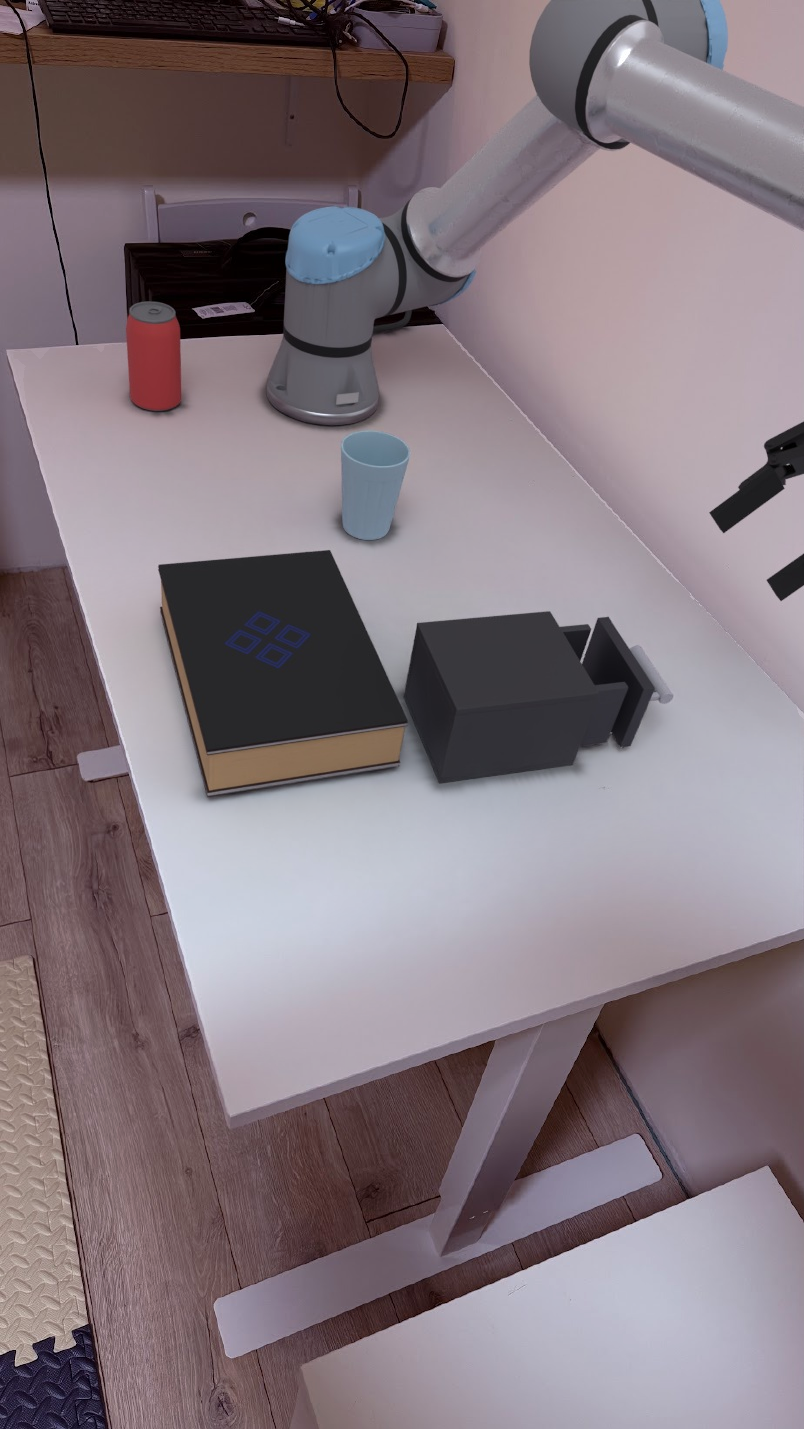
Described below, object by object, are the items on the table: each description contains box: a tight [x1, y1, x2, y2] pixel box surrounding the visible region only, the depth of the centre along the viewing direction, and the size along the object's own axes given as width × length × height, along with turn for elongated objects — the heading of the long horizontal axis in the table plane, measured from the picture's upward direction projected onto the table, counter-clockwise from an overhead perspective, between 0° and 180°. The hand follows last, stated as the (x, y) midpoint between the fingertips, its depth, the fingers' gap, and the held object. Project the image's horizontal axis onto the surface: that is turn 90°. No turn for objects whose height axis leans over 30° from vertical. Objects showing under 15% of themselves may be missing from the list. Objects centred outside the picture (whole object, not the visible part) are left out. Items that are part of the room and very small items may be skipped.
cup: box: [340, 429, 411, 541], centre depth 115 cm, size 8×8×10 cm
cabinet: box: [403, 610, 599, 784], centre depth 94 cm, size 13×11×9 cm
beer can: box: [125, 300, 182, 412], centre depth 128 cm, size 7×7×12 cm
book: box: [157, 549, 409, 798], centre depth 95 cm, size 17×25×7 cm
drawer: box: [559, 616, 674, 748], centre depth 96 cm, size 16×10×8 cm, turn 107°
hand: (744, 555), depth 90 cm, fingers open, 9 cm apart
